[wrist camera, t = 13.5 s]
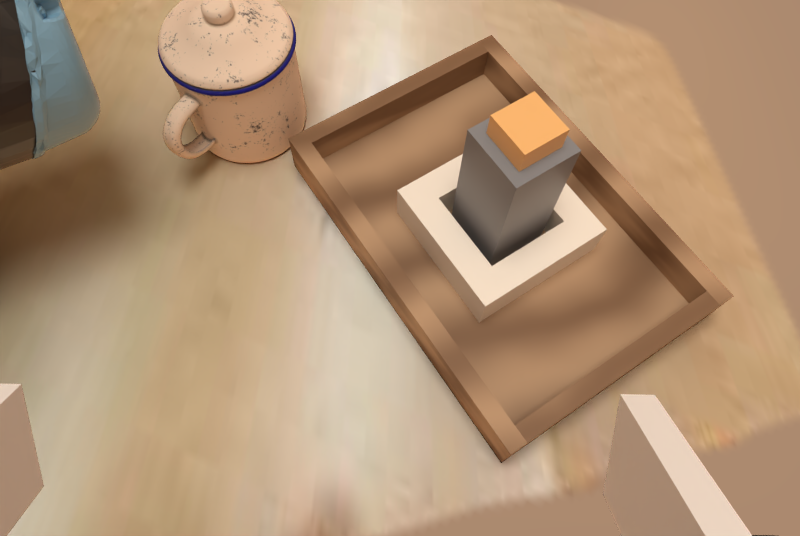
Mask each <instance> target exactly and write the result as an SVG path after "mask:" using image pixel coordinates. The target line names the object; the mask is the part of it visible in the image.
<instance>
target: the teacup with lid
mask: <svg viewBox="0 0 800 536" xmlns="http://www.w3.org/2000/svg"><path fill="white" fill-rule="evenodd" d="M295 45H296V32H295V28H294V24H293V22H292V20H291V18H290V16H289V15H288V13H287V12H286V10H285V9H284V8H283V7H282V6H281V5H280V4H279V3H278V2H277V1H276V0H182V1H181V2H179V3H178V4H177V5H176V6H175V7H174V8H173V9H172V10H171V11H170V12H169V13H168V15H167V16H166V18H165V19H164V21H163V23H162V26H161V29H160V32H159V36H158V54H159V58H160V61H161V64H162V66H163V68H164V69H165V71H166V72H167V74H168V75H169V76H170V77H171V78H172V79H173V81H174V83H175V86H176V88H177V90H178V92H179V94H180V97H181V99H180V100H179V101H178V102H177V103H176V104H175V105H174V107H173V108H172V109H171V111H170V112H169V114H168V116H167V118H166V121H165V124H164V128H163V138H164V141H165V144H166V145H167V147H168V148H169V149H170V150H171V151H172V152H173V153H175V154H176V155H178V156H180V157H183V158H187V159H192V158H197V157H199V156H201V155H202V154H204V153H205V152H206V151H208V150H210V151H211V152H212V153H214V154H215V155H217V156H219V157H221V158H223V159H226V160H229V161H233V162H239V163H255V162H261V161H265V160H268V159H271V158H273V157H276V156H278V155H279V154H281V153H283V152H284V151H286V150H287V149H288V148H289V147H290V143H289V138H290V137H292V136H294V135H296V134H298V133H300V132H302V130H303V128H304V125H305V121H306V107H305V101H304V96H303V90H302V85H301V79H300V74H299V69H298V63H297V58H296V52H295ZM189 117H190V119H191V121H192V123H193V126H194V128H195V130H196V132H197V134H198V137H197V138H195V139H194V140H193V141H192V142H190V143H189V144H186V145H183V144H182V141H181V134H182V130H183V127H184V125H185V123H186V121H187V120H188V119H189Z"/></svg>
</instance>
